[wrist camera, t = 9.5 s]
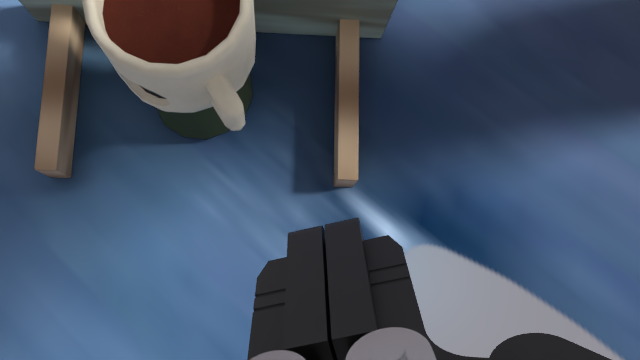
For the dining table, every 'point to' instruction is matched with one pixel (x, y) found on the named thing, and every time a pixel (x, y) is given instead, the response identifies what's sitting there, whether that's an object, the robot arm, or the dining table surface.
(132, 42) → the character mug
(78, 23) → the oak dock
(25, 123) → the dining table surface
